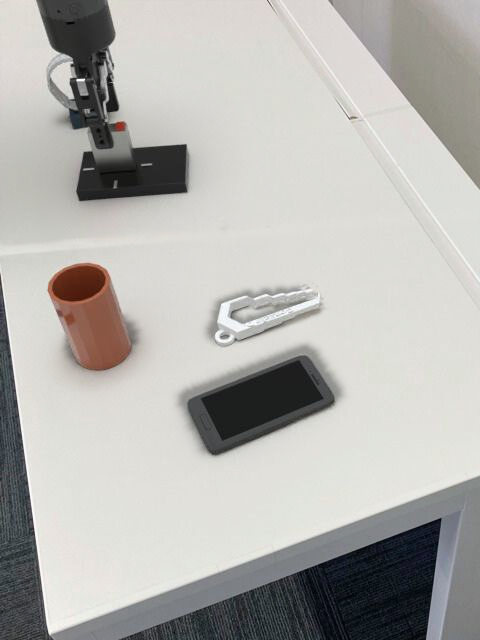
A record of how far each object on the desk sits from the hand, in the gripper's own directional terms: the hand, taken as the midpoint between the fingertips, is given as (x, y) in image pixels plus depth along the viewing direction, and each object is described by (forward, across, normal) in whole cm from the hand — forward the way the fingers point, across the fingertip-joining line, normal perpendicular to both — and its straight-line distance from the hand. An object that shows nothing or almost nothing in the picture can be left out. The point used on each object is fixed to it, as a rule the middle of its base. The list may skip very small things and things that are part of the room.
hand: (108, 128), depth 98 cm
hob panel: (+9, 0, +2) cm, 9 cm away
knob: (+6, 0, 0) cm, 6 cm away
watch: (+9, -16, -6) cm, 19 cm away
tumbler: (+9, +30, 0) cm, 31 cm away
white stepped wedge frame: (+9, +27, +18) cm, 34 cm away
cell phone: (+9, +40, +17) cm, 44 cm away
